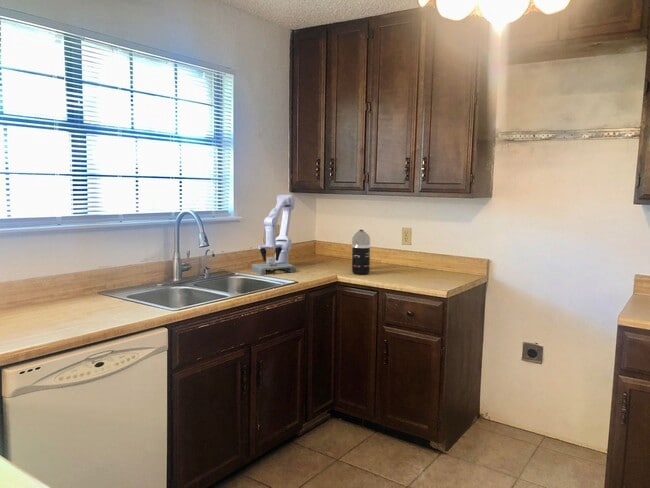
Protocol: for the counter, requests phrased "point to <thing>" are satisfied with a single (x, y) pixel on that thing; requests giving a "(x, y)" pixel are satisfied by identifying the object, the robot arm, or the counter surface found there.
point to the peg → (270, 261)
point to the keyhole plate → (280, 265)
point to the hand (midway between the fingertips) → (270, 260)
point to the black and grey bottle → (361, 253)
